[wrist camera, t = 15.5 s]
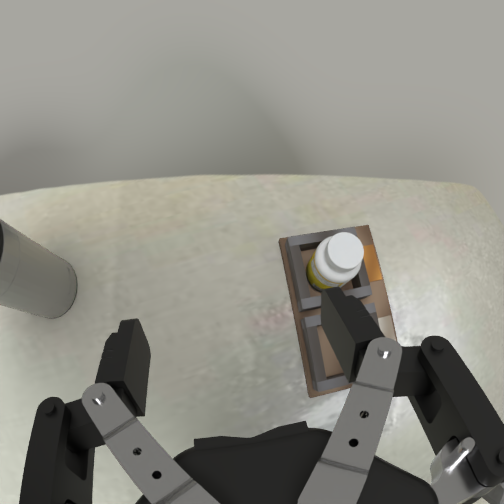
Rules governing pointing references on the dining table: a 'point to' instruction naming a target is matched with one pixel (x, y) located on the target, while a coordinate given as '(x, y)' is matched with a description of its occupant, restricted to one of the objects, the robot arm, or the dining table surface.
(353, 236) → the supplement bottle
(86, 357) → the dining table surface
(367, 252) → the socket board
